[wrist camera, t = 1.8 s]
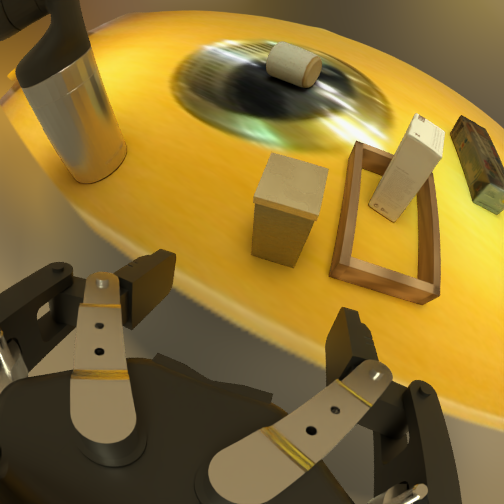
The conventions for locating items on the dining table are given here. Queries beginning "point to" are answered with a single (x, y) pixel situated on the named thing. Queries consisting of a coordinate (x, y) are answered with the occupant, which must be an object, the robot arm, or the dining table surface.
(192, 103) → the dining table surface
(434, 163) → the skincare box
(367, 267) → the crate
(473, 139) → the beverage carton
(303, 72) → the ceramic mug
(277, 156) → the tea tin
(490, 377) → the dining table surface
